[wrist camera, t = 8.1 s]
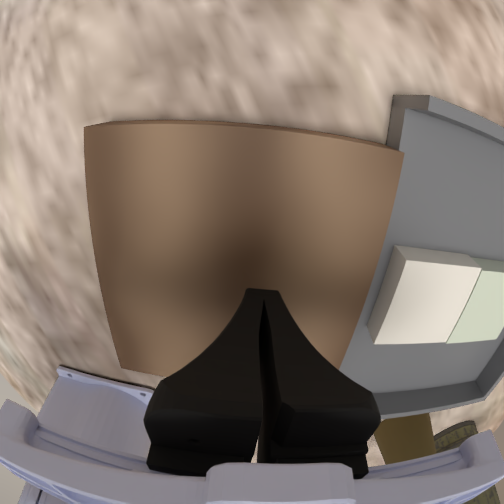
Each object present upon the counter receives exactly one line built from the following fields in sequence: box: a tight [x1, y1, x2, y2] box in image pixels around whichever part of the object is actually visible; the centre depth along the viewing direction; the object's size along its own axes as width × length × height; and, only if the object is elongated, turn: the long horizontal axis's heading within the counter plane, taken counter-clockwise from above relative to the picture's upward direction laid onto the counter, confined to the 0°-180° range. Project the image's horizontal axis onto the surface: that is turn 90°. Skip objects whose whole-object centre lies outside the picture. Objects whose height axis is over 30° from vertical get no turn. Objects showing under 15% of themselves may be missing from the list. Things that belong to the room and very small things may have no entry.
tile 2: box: [367, 245, 482, 344], centre depth 14 cm, size 5×5×2 cm
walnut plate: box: [84, 120, 405, 377], centre depth 15 cm, size 13×14×2 cm
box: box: [339, 95, 504, 419], centre depth 14 cm, size 15×19×4 cm
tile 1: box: [445, 257, 504, 344], centre depth 14 cm, size 5×5×2 cm
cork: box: [374, 413, 436, 465], centre depth 19 cm, size 6×6×11 cm
